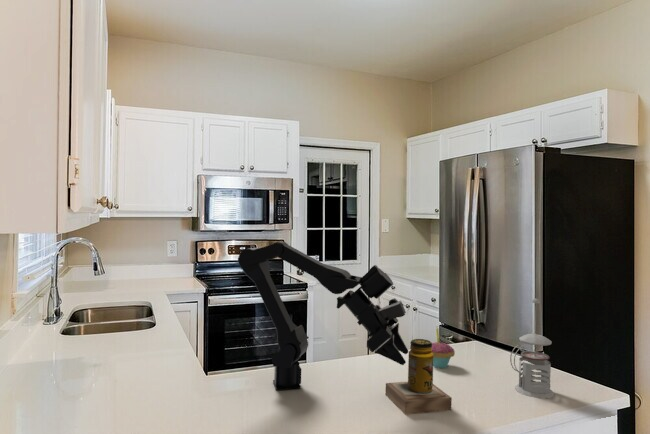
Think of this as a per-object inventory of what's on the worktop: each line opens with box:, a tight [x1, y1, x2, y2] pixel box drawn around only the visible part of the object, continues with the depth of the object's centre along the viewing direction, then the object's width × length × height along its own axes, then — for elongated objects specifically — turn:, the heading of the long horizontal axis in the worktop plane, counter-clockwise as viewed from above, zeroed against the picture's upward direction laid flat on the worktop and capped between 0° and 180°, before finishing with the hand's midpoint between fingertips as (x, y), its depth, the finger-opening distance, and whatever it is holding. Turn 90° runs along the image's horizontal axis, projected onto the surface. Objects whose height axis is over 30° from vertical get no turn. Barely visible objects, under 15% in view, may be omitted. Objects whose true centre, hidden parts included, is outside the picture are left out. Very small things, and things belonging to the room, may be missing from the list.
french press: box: [509, 298, 555, 399], centre depth 122 cm, size 10×12×25 cm
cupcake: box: [431, 327, 456, 369], centre depth 142 cm, size 9×8×12 cm
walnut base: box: [385, 381, 453, 415], centre depth 112 cm, size 12×12×3 cm
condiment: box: [396, 338, 438, 395], centre depth 112 cm, size 7×8×12 cm
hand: (405, 358), depth 113 cm, fingers open, 9 cm apart
